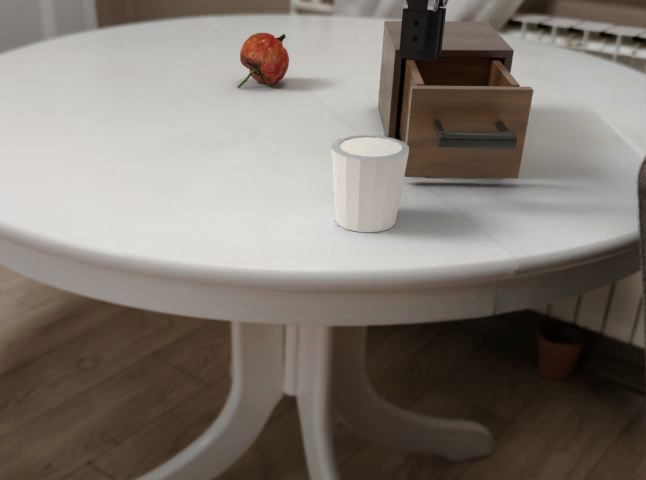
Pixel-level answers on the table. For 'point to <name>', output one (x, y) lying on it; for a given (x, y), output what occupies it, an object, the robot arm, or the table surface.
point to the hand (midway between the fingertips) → (419, 57)
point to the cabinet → (456, 43)
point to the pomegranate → (264, 58)
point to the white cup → (367, 181)
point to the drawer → (462, 118)
